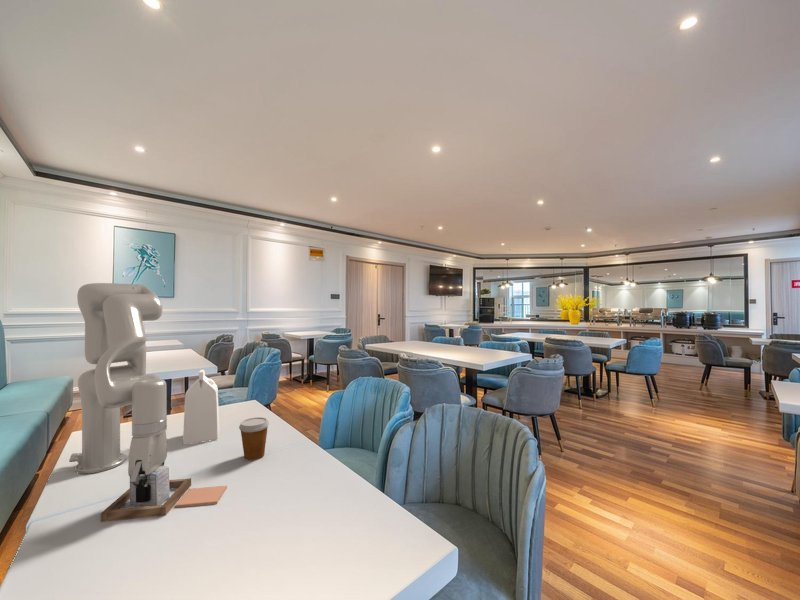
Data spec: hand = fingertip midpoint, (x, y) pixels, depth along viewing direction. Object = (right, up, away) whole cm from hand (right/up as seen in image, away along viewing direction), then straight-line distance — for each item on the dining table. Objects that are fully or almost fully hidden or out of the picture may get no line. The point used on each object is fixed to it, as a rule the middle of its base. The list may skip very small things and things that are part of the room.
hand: (149, 494), depth 92 cm
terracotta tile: (+13, -2, +2) cm, 13 cm away
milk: (-12, -3, +45) cm, 46 cm away
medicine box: (0, -2, 0) cm, 2 cm away
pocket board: (0, -2, 0) cm, 2 cm away
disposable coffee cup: (+17, -2, +27) cm, 32 cm away
